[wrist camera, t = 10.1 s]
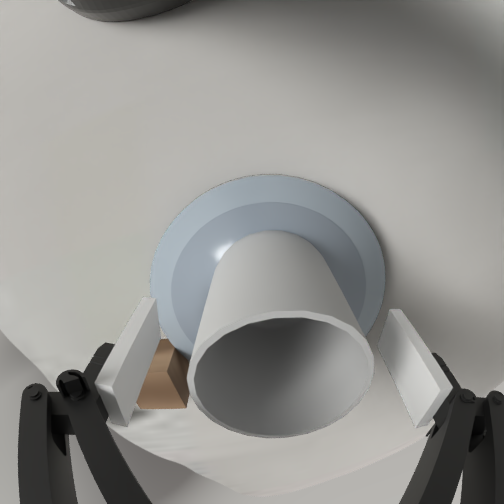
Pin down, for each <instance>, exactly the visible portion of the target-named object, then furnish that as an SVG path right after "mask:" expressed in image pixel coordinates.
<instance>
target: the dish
mask: <svg viewBox="0 0 504 504" xmlns="http://www.w3.org/2000/svg"><path fill="white" fill-rule="evenodd" d="M265 230H279V231H285V232H289V233H292V234H296V235H298V236H300V237H302V238H303V239H305V240H307V241H308V242H310V243H311V244H312V245H313V246H314V247H315V248H316V249H317V250H318V251H319V252H320V254H321V255H322V256H323V258H324V259H325V261H326V263H327V265H328V267H329V269H330V270H331V272H332V274H333V276H334V278H335V280H336V281H337V283H338V285H339V287H340V289H341V291H342V293H343V295H344V297H345V298H346V300H347V302H348V304H349V306H350V308H351V310H352V312H353V314H354V316H355V318H356V320H357V322H358V324H359V326H360V328H361V330H362V332H363V334H364V336H365V337H366V335H367V334H368V332H369V331H370V329H371V328H372V326H373V324H374V322H375V320H376V318H377V316H378V313H379V311H380V308H381V305H382V301H383V297H384V292H385V279H386V277H385V264H384V259H383V255H382V251H381V248H380V245H379V243H378V240H377V238H376V236H375V234H374V232H373V231H372V229H371V227H370V225H369V224H368V223H367V221H366V220H365V219H364V218H363V216H362V215H361V214H360V213H359V212H358V211H357V210H356V209H355V208H354V207H353V206H352V205H351V204H350V203H348V202H347V201H346V200H344V199H343V198H341V197H340V196H338V195H337V194H335V193H334V192H332V191H331V190H329V189H328V188H326V187H323V186H321V185H319V184H317V183H315V182H312V181H309V180H306V179H303V178H299V177H294V176H288V175H281V174H260V175H252V176H245V177H241V178H238V179H234V180H230V181H227V182H225V183H223V184H220V185H218V186H216V187H213V188H212V189H210V190H208V191H207V192H205V193H203V194H202V195H200V196H199V197H197V198H196V199H195V200H194V201H193V202H191V203H190V204H189V205H188V206H187V207H186V208H185V209H184V210H183V211H182V212H181V213H180V214H179V215H178V216H177V217H176V218H175V220H174V221H173V222H172V223H171V224H170V226H169V227H168V229H167V230H166V232H165V233H164V235H163V236H162V238H161V240H160V243H159V245H158V247H157V249H156V252H155V255H154V259H153V262H152V267H151V275H150V294H151V298H156V301H157V310H158V319H159V324H160V326H161V328H162V330H163V332H164V334H165V335H166V337H167V338H168V339H169V341H170V342H171V343H172V345H173V346H174V347H175V348H176V349H177V350H178V351H179V352H180V353H181V354H182V355H183V356H184V357H185V358H186V359H188V360H189V361H190V360H191V356H192V352H193V348H194V344H195V341H196V337H197V333H198V329H199V326H200V322H201V318H202V315H203V311H204V307H205V304H206V300H207V296H208V293H209V289H210V286H211V282H212V278H213V275H214V271H215V269H216V267H217V265H218V263H219V261H220V259H221V258H222V256H223V254H224V253H225V252H226V251H227V250H228V249H229V248H230V247H231V246H232V245H233V244H234V243H235V242H237V241H238V240H240V239H242V238H244V237H246V236H247V235H249V234H253V233H257V232H261V231H265Z"/></svg>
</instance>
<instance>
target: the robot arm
mask: <svg viewBox="0 0 504 504" xmlns="http://www.w3.org/2000/svg"><path fill="white" fill-rule="evenodd" d="M59 1H60V2H61V3H62V4H63V5H65V6H66V7H68V8H69V9H71V10H73V11H75V12H76V13H78V14H80V15H82V16H84V17H86V18H90V19H93V20H99V21H126V20H133V19H138V18H143V17H148V16H151V15H155V14H159V13H162V12H165V11H168V10H171V9H173V8H176V7H178V6H181V5H183V4H186V3H188V2H190V1H192V0H59ZM160 339H161V334H160V327H159V319H158V310H157V301H156V298H151V297H143V298H142V299H141V301H140V303H139V304H138V306H137V308H136V309H135V311H134V313H133V314H132V316H131V318H130V320H129V321H128V323H127V325H126V326H125V328H124V330H123V332H122V333H121V335H120V337H119V339H118V340H117V342H116V344H110V343H104V344H103V345H102V346H100V347H99V348H98V349H97V351H96V352H95V354H94V357H92V359H91V361H90V363H89V364H88V366H87V367H86V369H85V371H84V373H82V372H80V371H78V370H67V371H65V372H62V373H61V374H60V375H59V376H58V378H57V380H56V385H57V388H58V390H59V392H48V391H47V389H46V388H45V386H43V385H42V384H37V383H35V384H31V385H29V386H28V387H26V388H25V389H24V391H23V394H22V400H21V409H20V423H19V439H18V440H19V441H18V478H19V496H20V504H78V502H77V497H76V491H75V486H74V479H73V473H72V465H71V456H70V448H69V435H76V437H77V440H78V443H79V445H80V448H81V450H82V452H83V454H84V457H85V459H86V462H87V464H88V466H89V468H90V471H91V473H92V475H93V477H94V479H95V481H96V483H97V485H98V487H99V489H100V491H101V493H102V495H103V496H104V499H105V500H106V502H107V504H152V503H151V501H150V500H149V498H148V497H147V495H146V494H145V492H144V491H143V489H142V487H141V486H140V484H139V483H138V481H137V479H136V478H135V476H134V475H133V473H132V471H131V470H130V468H129V466H128V465H127V463H126V461H125V459H124V458H123V456H122V454H121V452H120V450H119V448H118V447H117V445H116V443H115V441H114V439H113V437H112V435H111V433H110V431H109V429H108V427H107V425H106V421H107V419H108V416H109V418H110V421H111V423H113V424H117V425H121V426H125V427H128V424H129V421H130V418H131V415H132V412H133V410H134V407H135V404H136V401H137V399H138V396H139V393H140V390H141V388H142V385H143V382H144V380H145V377H146V375H147V372H148V369H149V367H150V364H151V362H152V359H153V356H154V354H155V351H156V349H157V346H158V344H159V341H160ZM377 347H378V349H379V351H380V353H381V355H382V357H383V359H384V361H385V363H386V365H387V368H388V370H389V372H390V374H391V376H392V378H393V380H394V382H395V384H396V387H397V389H398V391H399V393H400V395H401V397H402V400H403V402H404V404H405V406H406V408H407V411H408V413H409V415H410V417H411V420H412V422H413V424H414V427H415V428H418V427H422V426H426V425H428V424H429V422H430V421H431V420H432V418H433V419H434V421H435V424H434V425H433V426H432V428H431V429H430V430H429V432H428V433H427V434H426V436H428V435H429V434H430V435H429V438H428V440H427V443H426V446H425V448H424V451H423V453H422V456H421V458H420V461H419V463H418V465H417V467H416V470H415V472H414V474H413V476H412V479H411V481H410V483H409V485H408V487H407V489H406V491H405V493H404V495H403V497H402V499H401V501H400V503H399V504H451V503H452V500H453V498H454V495H455V492H456V489H457V486H458V482H459V480H460V477H461V473H462V470H463V479H462V492H461V503H460V504H504V395H503V394H502V393H501V392H499V391H491V392H490V393H489V394H488V395H487V397H486V398H481V397H476V396H475V394H474V393H473V392H472V391H470V390H468V389H462V388H461V387H460V385H459V384H458V382H457V381H456V379H455V377H454V376H453V374H452V373H451V371H450V370H449V368H448V367H447V366H446V364H445V362H444V361H443V359H442V358H441V357H440V356H438V355H437V354H436V353H431V352H430V351H429V349H428V348H427V346H426V345H425V343H424V342H423V340H422V339H421V337H420V336H419V334H418V333H417V332H416V330H415V329H414V327H413V326H412V324H411V323H410V322H409V320H408V319H407V317H406V316H405V314H404V313H403V312H402V310H401V309H390V310H389V313H388V316H387V319H386V322H385V325H384V328H383V330H382V333H381V336H380V339H379V342H378V344H377Z"/></svg>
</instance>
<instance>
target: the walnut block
mask: <svg viewBox="0 0 504 504" xmlns="http://www.w3.org/2000/svg"><path fill="white" fill-rule="evenodd" d="M188 369H189V362H188V360H187V359H186V358H185V357H184V356H183V355H182V354H181V353H180V352H179V351H178V350H177V349H176V348H175V347H174V346H173V345H172V343H171V342H170V341H169V339H161V340H160V341H159V344H158V346H157V349H156V351H155V354H154V356H153V359H152V362H151V364H150V367H149V369H148V372H147V375H146V377H145V380H144V382H143V385H142V388H141V390H140V393H139V396H138V399H137V401H136V403H137V404H138V406H139V407H140V409H179V408H187V403H188V398H189V393H190V392H189V387H188V383H187V374H188Z"/></svg>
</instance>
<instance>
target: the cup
mask: <svg viewBox="0 0 504 504" xmlns="http://www.w3.org/2000/svg"><path fill="white" fill-rule="evenodd" d="M373 375H374V356H373V353H372V351H371V349H370V346H369V344H368V342H367V340H366V338H365V336H364V334H363V332H362V330H361V328H360V326H359V324H358V322H357V320H356V318H355V316H354V314H353V312H352V310H351V308H350V306H349V304H348V302H347V300H346V298H345V297H344V295H343V293H342V291H341V289H340V287H339V285H338V283H337V281H336V280H335V278H334V276H333V274H332V272H331V270H330V269H329V267H328V265H327V263H326V261H325V259H324V258H323V256H322V255H321V254H320V252H319V251H318V250H317V249H316V248H315V247H314V246H313V245H312V244H311V243H310V242H308V241H307V240H305V239H303V238H302V237H300V236H298V235H296V234H292V233H289V232H285V231H279V230H265V231H261V232H257V233H253V234H249V235H247V236H246V237H244V238H242V239H240V240H238V241H237V242H235V243H234V244H233V245H232V246H231V247H230V248H229V249H228V250H227V251H226V252H225V253H224V254H223V256H222V258H221V259H220V261H219V263H218V265H217V267H216V269H215V271H214V275H213V278H212V282H211V286H210V289H209V293H208V296H207V300H206V304H205V307H204V311H203V315H202V318H201V322H200V326H199V329H198V333H197V337H196V341H195V344H194V348H193V352H192V356H191V360H190V364H189V369H188V374H187V383H188V387H189V392H190V395H191V397H192V399H193V400H194V402H195V404H196V405H197V407H198V408H199V410H201V411H202V412H203V413H204V414H205V415H206V416H207V417H208V418H209V419H211V420H212V421H213V422H215V423H217V424H219V425H221V426H223V427H224V428H226V429H228V430H231V431H234V432H237V433H241V434H244V435H247V436H255V437H262V438H285V437H293V436H298V435H303V434H308V433H311V432H313V431H316V430H319V429H322V428H324V427H327V426H329V425H330V424H332V423H334V422H336V421H337V420H339V419H341V418H342V417H344V416H345V415H346V414H348V413H349V412H350V411H351V410H352V409H353V408H354V407H356V406H357V405H358V404H359V402H360V401H361V400H362V398H363V397H364V395H365V394H366V393H367V391H368V390H369V387H370V384H371V381H372V378H373Z"/></svg>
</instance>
